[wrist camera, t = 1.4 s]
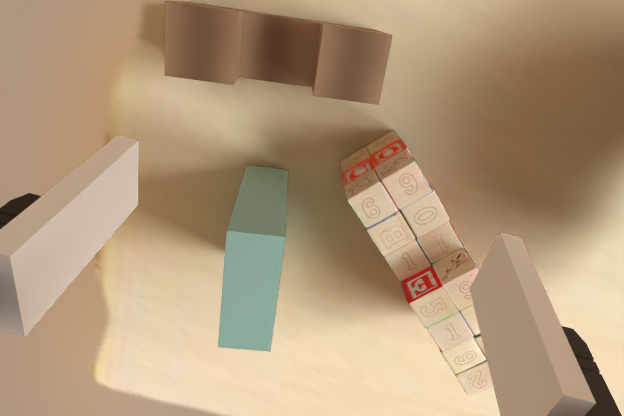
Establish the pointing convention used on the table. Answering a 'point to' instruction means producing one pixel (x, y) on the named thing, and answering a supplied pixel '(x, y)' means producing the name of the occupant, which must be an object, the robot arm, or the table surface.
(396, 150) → the stack of blocks
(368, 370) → the table surface
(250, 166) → the rectangular block
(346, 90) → the staggered wooden block
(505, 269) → the robot arm
